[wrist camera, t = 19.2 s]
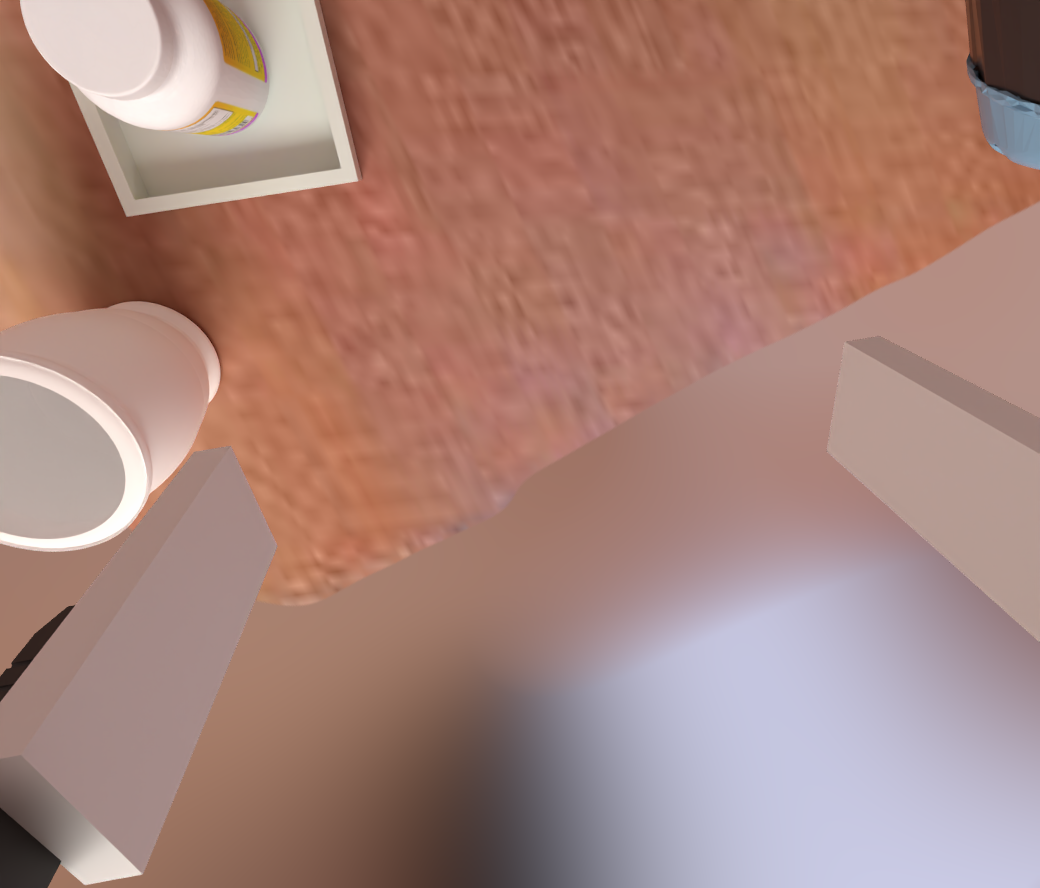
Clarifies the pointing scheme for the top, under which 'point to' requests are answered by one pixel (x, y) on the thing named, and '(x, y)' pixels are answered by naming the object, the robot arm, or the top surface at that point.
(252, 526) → the robot arm
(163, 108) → the supplement bottle
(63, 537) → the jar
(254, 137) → the tray
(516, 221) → the top surface
